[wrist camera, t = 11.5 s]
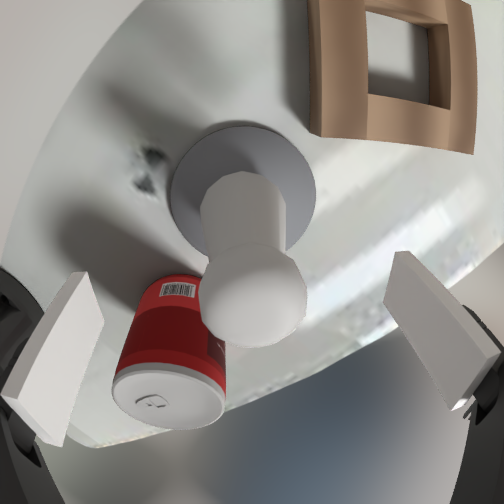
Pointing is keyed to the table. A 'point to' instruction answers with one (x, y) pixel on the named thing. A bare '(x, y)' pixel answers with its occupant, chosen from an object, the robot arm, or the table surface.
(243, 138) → the coaster
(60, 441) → the robot arm
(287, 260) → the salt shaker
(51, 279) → the table surface
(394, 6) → the collar block
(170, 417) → the canned food
